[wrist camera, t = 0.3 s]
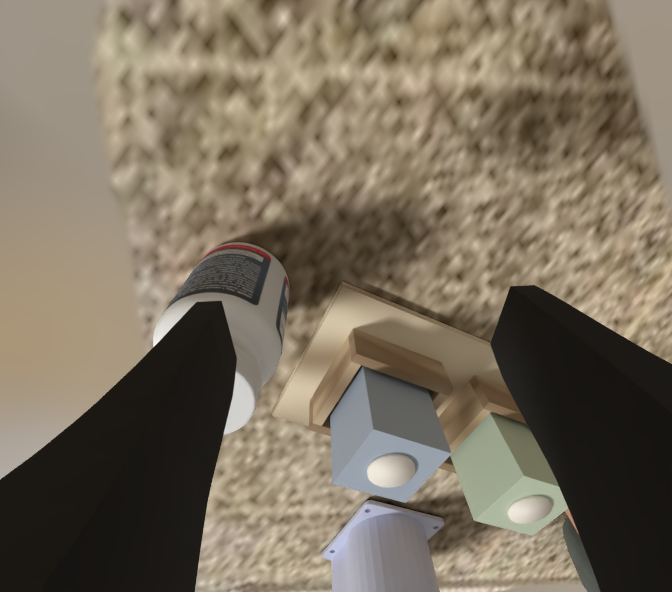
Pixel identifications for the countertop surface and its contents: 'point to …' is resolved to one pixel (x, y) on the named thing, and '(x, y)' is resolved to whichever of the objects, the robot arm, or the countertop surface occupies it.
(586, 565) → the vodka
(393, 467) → the slate-blue block
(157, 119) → the countertop surface
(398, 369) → the birch board
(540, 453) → the sage block
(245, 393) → the pill bottle
